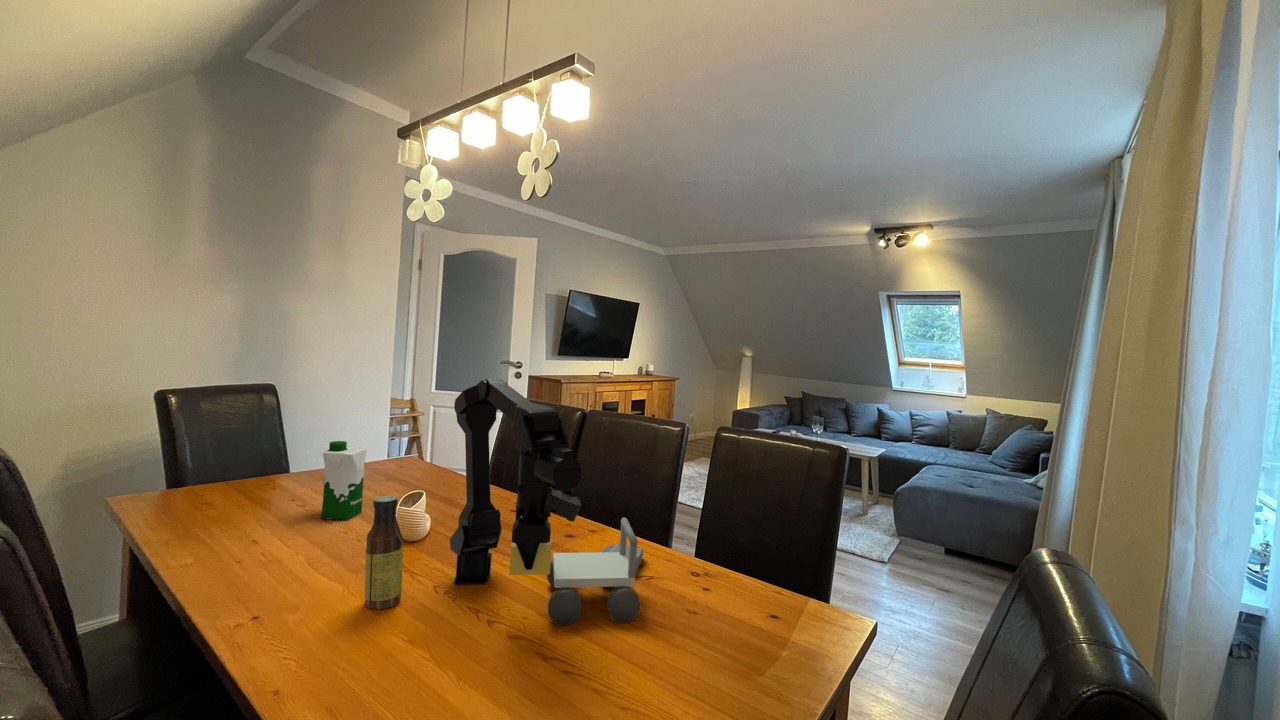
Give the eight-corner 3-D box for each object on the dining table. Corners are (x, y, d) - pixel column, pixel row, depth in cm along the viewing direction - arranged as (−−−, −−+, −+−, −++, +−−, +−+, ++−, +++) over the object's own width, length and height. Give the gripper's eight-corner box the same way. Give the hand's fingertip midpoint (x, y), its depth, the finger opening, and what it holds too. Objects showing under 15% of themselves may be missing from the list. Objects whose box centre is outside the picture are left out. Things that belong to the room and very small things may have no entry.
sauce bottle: (408, 599, 98) (414, 496, 98) (382, 614, 92) (388, 505, 92) (381, 592, 100) (387, 491, 100) (354, 606, 95) (360, 499, 94)
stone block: (593, 582, 115) (636, 579, 113) (590, 560, 115) (633, 558, 114) (606, 563, 127) (645, 560, 125) (604, 543, 127) (643, 540, 125)
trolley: (547, 625, 92) (552, 543, 92) (546, 584, 108) (550, 513, 108) (639, 622, 96) (644, 542, 95) (625, 583, 111) (630, 514, 111)
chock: (509, 575, 90) (510, 546, 90) (510, 564, 94) (512, 537, 94) (549, 574, 91) (551, 546, 91) (549, 563, 96) (550, 537, 95)
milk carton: (335, 509, 144) (339, 438, 144) (367, 511, 144) (371, 441, 144) (315, 519, 136) (319, 444, 135) (349, 522, 135) (353, 447, 135)
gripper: (583, 493, 85) (577, 586, 85) (575, 466, 103) (570, 543, 103) (514, 492, 82) (508, 588, 83) (519, 465, 101) (514, 543, 101)
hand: (529, 563), depth 93 cm, fingers closed on chock, 4 cm apart
